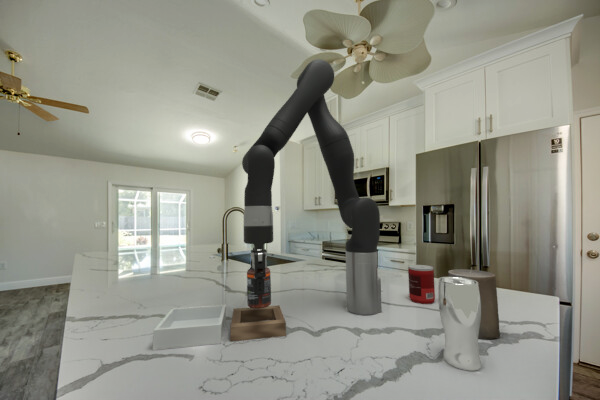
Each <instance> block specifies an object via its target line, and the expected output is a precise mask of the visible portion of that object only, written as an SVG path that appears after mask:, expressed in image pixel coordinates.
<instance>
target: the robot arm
mask: <svg viewBox="0 0 600 400" xmlns="http://www.w3.org/2000/svg"><path fill="white" fill-rule="evenodd" d="M333 68H334V67H332V64H330V62H328V61H327V60H325V59H322V58H321V59H320V58H317V59H313V60H311V61H309V63H308V64H307V65H306V66H305V67H304V69H303V70H302V72H301V73H300V74H299V76H298V78H297V81H296V88H295V90H294V91H293V93H292V94H291V95H290V96H289V98H288V99H287V100H286V102H285V103H283V105H282V106H281V107H280V109H279V110H278V111H277V112H276V113H275V115H274V116H273V117H272V118H271V119H270V121H269V122H268V124H267V125H266V126H265V128H264V129H263V131H262V133H261V135H260V136H259V137H258V139H257V140H256V141H255V142H254V143H253V144H252V146H250V148H249V149H248V150H247V151H246V153H245V154H244V156H243V158H242V161H241V165H242V169H243V170H244V172H245V173H246V174H247V183H246V186H245V187H244V197H243V199H244V210H243V243H244V244H247V245H253V248H252V249H251V250H250V259H251V260H252V269H253V270H254V272H255V274H254V278H255V294H256V295H263V294H264V293H265V291H264V279H265V276H266V274H265V269H266V267H267V268H268V265H267V257H268V250H267V249H266V248H265V247H264V246H265V245H266V244H271V243H273V242H274V213H273V198H272V197H273V194H272V192H273V191H272V186H273V182H274V177H275V176H274V175H275V170H276V169H275V168H276V167H275V164H276V162H275V157H276V156H277V155H278V153H279V152H280V151H281V150H283V148H284V147H285V146H286V145H287V143H288V142H289V140H291V138H292V136H294V133H295V132H296V130H297V129H298V127H299V126H300V125H301V123H302V122H303V120H304V118H305V116H307V115H308V118H309V120H310V123H311V126H312V128H313V130H314V131H313V132H314V133H315V134H314V135H315V137H316V139H317V142H318V146H319V149H320V152H321V156H322V158H323V161H324V163H325V165H326V166H325V167H326V168H327V172H328V175H329V178H330V180H331V184H332V186H333V190H334V194H335V197H336V203H337V207H338V211H339V215H340V218H341V220H342V222H343V223H344V224H345V225H346V226H347V227H349V228H351V236H350V238H349V239H347V241H346V242H345V278H346V279H345V282H346V283H345V286H346V287H345V288H346V293H345V294H346V310H347V311H348V312H350V313H352V314H356V315H359V316H360V315H361V316H363V315H364V316H369V315H370V316H371V315H375V314H377V313H381V312H382V284H381V283H382V282H381V277H379V275H378V244H379V241H380V230H381V227H380V226H381V225H380V224H381V223H380V222H381V217H380V216H381V214H380V209H379V205H378V204H377V202H376V201H375V200H374V199H372V198H370V197H360V196H359V193H358V191H357V188H356V184H355V178H354V176H355V174H354V172H355V153H354V149H353V146H352V143H351V141H350V137H349V135H348V132H347V131H346V130H345V128H344V127H343V126H342V125H341V124H340V122H338V121H337V120H336V118H334V116H333V115H332V114H331V112H330V110H329V107H328V104H327V101H326V97H325V94H326V93H328V91H329V90H330V89H331V88H332V87H333V84H334V81H335V70H334V69H333ZM254 260H255V264H254ZM260 269H262V270H263V272H260V273H257V270H260Z"/></svg>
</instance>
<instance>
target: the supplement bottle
mask: <svg viewBox="0 0 600 400" xmlns="http://www.w3.org/2000/svg"><path fill="white" fill-rule="evenodd" d="M254 264H255V260H254ZM246 271H247V272H246V291H247V295H246V296H247V306H248V308H254V309H259V308H265V307H268V306H271V304H272V284H271V283H272V282H271V279H272V277H271V276H272V275H271V269H270V268H269V267H268V266H267V267H266V269H265V274H266V276H265V279H264V291H265V293H264V294H263V295H256V294H255V278H254V274H255V272H254V270H253V269H252V259H251V260H250V268H248V269H247V270H246ZM260 272H263V270H262V269H260V270H257V273H260Z"/></svg>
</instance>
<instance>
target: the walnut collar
mask: <svg viewBox="0 0 600 400" xmlns="http://www.w3.org/2000/svg"><path fill="white" fill-rule="evenodd" d="M286 328H287V321H286V320H285V317H284V314H283V311H282V308H281V306H280V305H269V306H268V307H265V308H259V309H254V308H250V307H239V308H233V311H232V317H231V323H230V342H237V341H238V342H239V341H247V340H256V339H257V340H258V339H259V340H260V339H267V338H270V339H271V338H276V337H279V338H280V337H286V336H287V329H286Z"/></svg>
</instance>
